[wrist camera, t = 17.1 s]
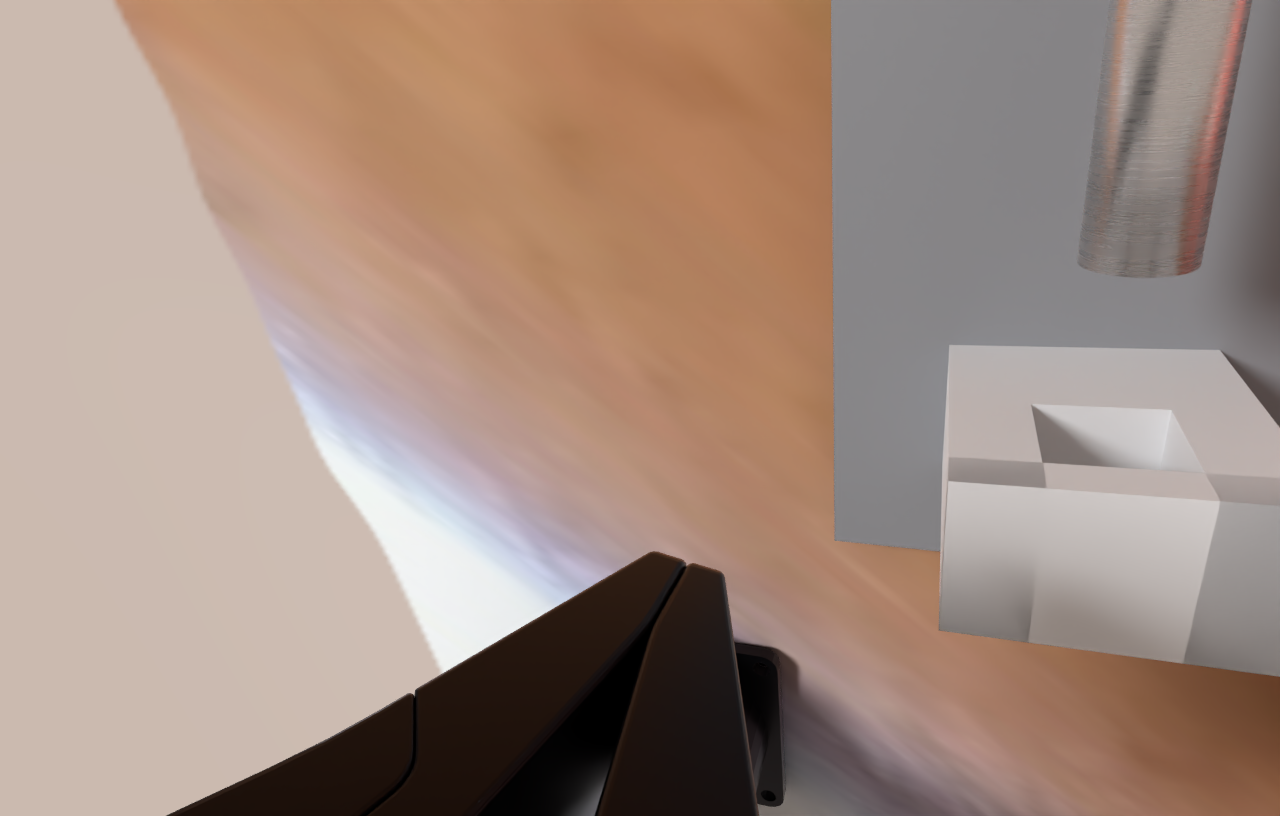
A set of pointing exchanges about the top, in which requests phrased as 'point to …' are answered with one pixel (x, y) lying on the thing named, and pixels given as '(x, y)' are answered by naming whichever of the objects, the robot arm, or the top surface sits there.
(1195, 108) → the locking pin
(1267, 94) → the mounting plate
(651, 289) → the top surface
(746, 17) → the top surface
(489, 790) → the robot arm
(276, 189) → the top surface
